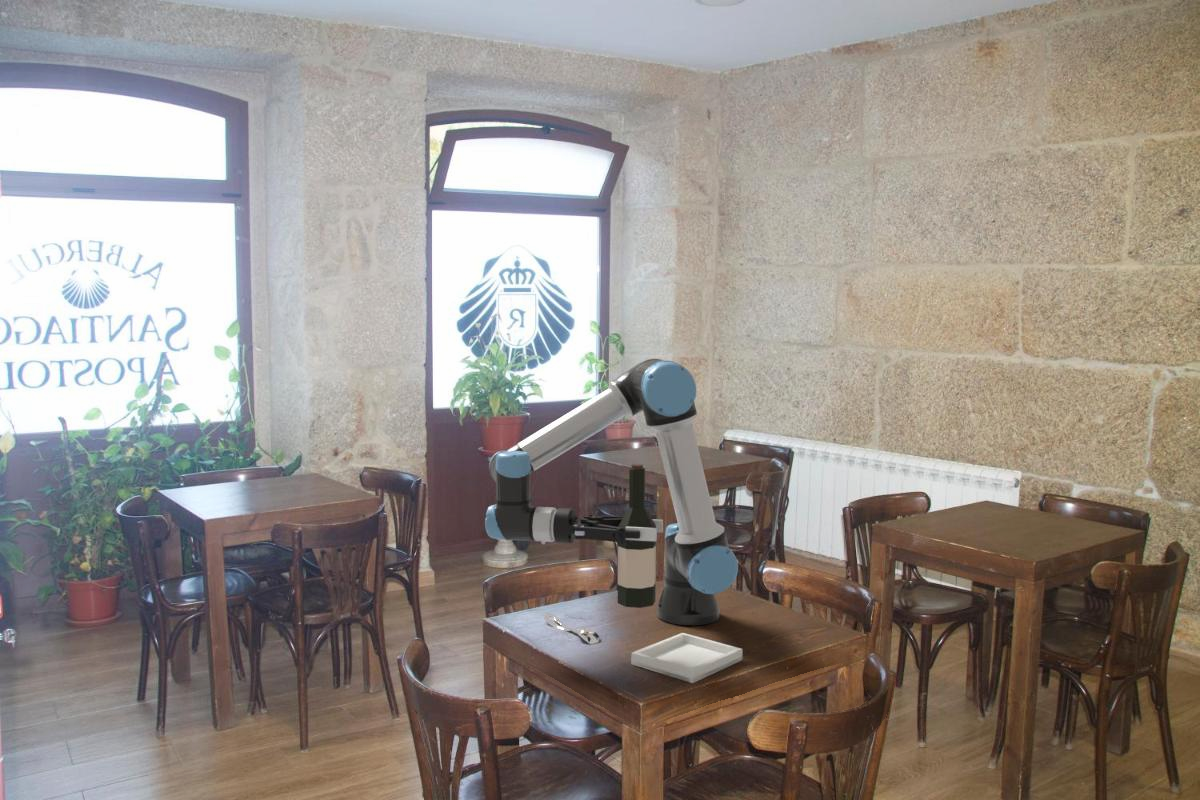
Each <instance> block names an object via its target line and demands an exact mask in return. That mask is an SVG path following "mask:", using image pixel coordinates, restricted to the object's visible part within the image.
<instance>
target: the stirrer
mask: <svg viewBox="0 0 1200 800" xmlns="http://www.w3.org/2000/svg"><path fill="white" fill-rule="evenodd" d="M543 618H544V620H545V622H546V623H547V624H548V625H549V626H551V627H552V628H555V629H560V630H563V631H565V632H576V633H577V636H579V637H580V638H582V639H583V641H585V642H586V643H587V644H589V645H593V644H598V643H599V642H600V635H599V632H598V631H596V629H594V628H592V627H581V628H575V629H569V628H567V627H566V626H565V625H564V623H563V622H562V621H561V619H560V618H559V617H558V616H556V615H555V614H551V613H546V614H545V615H544V616H543ZM550 618H553V619H550Z"/></svg>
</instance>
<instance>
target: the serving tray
mask: <svg viewBox="0 0 1200 800" xmlns="http://www.w3.org/2000/svg"><path fill="white" fill-rule="evenodd" d="M630 659H631V660H630V661H631V662H630V664H631V665H633V666H635V667H639V668H642V669H645V670H648V671H652V672H655V673H658V674H662V675H664V676H668V677H671V678H674V679H677V680H681V681H684V682H687V683H690V684H694V683H697V682H698V681H700V680H702V679H705V678H707V677H709V676H711V675H713V674H715V673H717V672H720V671H723V670H724V669H726V668H728V667H730V666H733V665H735V664H738V663H740V662H742V661H743V648H740V647H736V646H733V645H730V644H725V643H722V642H718V641H716V640H711V639H707V638H703V637H700V636H697V635H693V634H688V633H685V632H680V633H679V634H675V635H673V636H670V637H668V638H666V639H663V640H660V641H658V642H656V643H652V644H650V645H647V646H645V647H643V648H640V649H637V650H635V651H633V652H631V656H630Z"/></svg>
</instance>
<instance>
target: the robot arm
mask: <svg viewBox="0 0 1200 800" xmlns="http://www.w3.org/2000/svg"><path fill="white" fill-rule="evenodd" d="M696 384H697V383H696V381H695V378H694V376H693V374H692V373H691V372H690V371H689V370H688V369H687V368H686V367H684V366H683V365H682V364H680V363H678V362H675V361H671V360H663V359H659V358H650V359H646V360H643V361H641V362H639V363H637V364H636V365H634V366H633V367H631V368H629V369H628V370H627V371H626V372H623V374H621V375H620V376H618V377H617V378H615V379H613V380H612V381H610V382H609V384H608V387H607V389H606V390H603V391H602V392H600V393H599V394H597V395H595V396H594V397H591V398H590V399H588V400H587V401H586V402H583V403H582V404H581V405H579V406H577V407H576V408H574V409H572V410H570V411H568V412H567V413H565V414H564V415H562V416H561V417H559V418H558V419H556V420H554V421H551V422H550V423H549V424H548V425H546V426H544V427H542V428H541V429H539V430H538V431H536V432H534V433H533V434H530V435H529V436H528V437H526V438H524V439H523V440H522V441H519V442H518V443H516V444H514V445H513V446H511V447H510V448H508V449H504V450H500V451H497V452H496V453H494V454H493V455H492V457H491V458H490V460H489V465H488V468H489V473H490V474H489V475H490V477H491V478H492V480H493V481H494V482H495V488H496V490H495V491H496V501H495V502H496V503H495V504H492V505H489V506H488V508H487V509H486V514H485V519H484V526H485V527H484V528H485V531H486V534H487V535H488V537H490V538H491V539H496V540H505V541H508V542H509V541H529V542H540V543H541V544H542V545H545V544H546V542H547V543H554V541H555V542H556V543H557V544H559V543H560V544H572V543H574V541H575V540H592V541H602V542H603V541H604V542H614V543H618V542H620V544H624V543H625V538H626V540H637V541H656V542H657V537H658V536H657V535H658V534H659V533H664V520H663V519H658V518H657V519H653V518H652V520H653V521H654V523H655V525H656V528H646V527H626V530H625V528H623V527H618V526H619V524H620V523H621V521H622V519H623V517H624V516H625V515H594V514H589V515H584V516H583V517H580V518H578V517H577V512H576V510H575V509H574V508H570V507H569V508H566V507H564V508H563V507H559V508H556V507H548V506H532V505H531V499H532V498H531V474H532V473H533V472H535V471H537V470H538V469H540V468H541V467H543V466H544V465H547V464H549V462H551V461H553V460H555V459H556V458H558V457H559V456H561V455H563V454H564V453H566V452H568V451H569V450H571V449H572V448H574V447H576V446H578V445H579V444H581V443H583V442H585V440H587V439H589V438H591V437H592V436H595V435H596V434H598V433H599V432H601V431H603V430H604V429H606V428H608V427H609V426H610V425H612V424H613V423H614V424H615V422H617V421H619V420H620V419H622V418H623V417H630V418H632V417H634V416H635V415H637V414H638V413H641V412H643V415H644V419H645V423H646V426H647V427H648V428H649V429H650V430H652V431H654V432H655V436H656V440H657V444H658V448H659V452H660V458H661V460H662V465H663V469H664V473H665V477H666V481H667V486H668V490H669V493H670V498H671V502H672V505H673V509H674V514H675V519H676V521H677V522H676V523H671V524H669V525H667V526H666V529H665V536H664V540H665V541H664V544H665V545H664V586H663V589H662V592H661V595H660V597H659V600H658V604H657V611H656V613H657V614H656V615H657V617H658V619H660V620H661V621H663V622H667V623H670V624H674V625H680V626H681V625H682V626H701V625H702V626H703V625H707V624H712V623H714V622H717V621H718V620H719V619H720V606H719V604H718V600H717V597H716V595H717V594H720V593H722V592H724V591H726V590H727V589H729V588H730V587H731V586H732V585H733V583H734V582H735V580H736V578H737V576H738V574H739V572H738V571H739V563H738V559H737V556H736V555H735V553H734V551H732V549H730V548H729V542H728V538H727V535H726V531H725V527H724V526H723V525H722V524H720V523H717V521H716V516H715V513H714V508H713V505H712V501H711V500H712V499H711V496H710V492H709V488H708V483H707V479H706V475H705V471H704V467H703V462H702V458H701V455H700V450H699V446H698V441H697V438H696V433H695V429H694V424H693V422H694V421H695V419H696V416H697V415H698V412H697V408H696V403H695V400H696V396H697V385H696Z"/></svg>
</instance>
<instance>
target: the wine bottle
mask: <svg viewBox="0 0 1200 800" xmlns="http://www.w3.org/2000/svg"><path fill="white" fill-rule="evenodd" d="M628 471H629V474H628V475H629V476H628V477H629V478H628V480H629V481H628V482H629V486H628V487H629V491H628V492H629V493H628V495H629V499H628V500H629V505H628V509H627V510H626V512H625V514H624V515H623V516H624V517H623V519H622V521H621V523H620V524H619V526H618V527H623V528H625V530H626V527H646V528H656V525H655V523H654V521H653V520H652V519H653V518H652V516H651V514H650V513H649V512H648V509H647V508H646V468H645V467H644V464H641V463H632V464H631V467H630V468H629V470H628ZM656 546H657V541H637V540H626V538H625V543H624V544H620V542H617V604H618V605H621V606H623V607H625V608H636V609H638V608H639V609H642V608H643V609H644V608H647V607H652V606H654V604H655V603H656V579H657V577H656V569H657V568H656V567H657V566H656V565H657V564H656V563H657V561H656V557H657V556H656V554H657V553H656V552H657V550H656V549H657V547H656Z"/></svg>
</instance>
